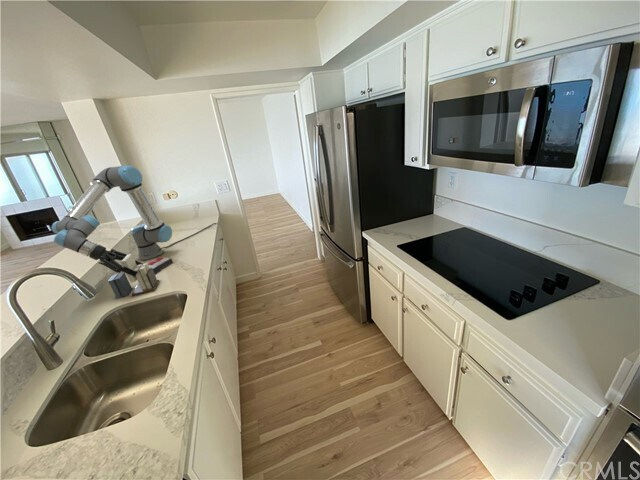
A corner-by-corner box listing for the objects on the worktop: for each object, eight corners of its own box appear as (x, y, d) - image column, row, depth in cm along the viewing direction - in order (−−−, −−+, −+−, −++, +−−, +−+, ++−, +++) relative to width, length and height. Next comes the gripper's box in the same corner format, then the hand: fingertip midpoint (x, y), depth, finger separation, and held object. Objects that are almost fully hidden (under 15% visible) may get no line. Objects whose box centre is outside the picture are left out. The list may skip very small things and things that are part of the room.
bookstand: (139, 285, 153) (129, 265, 148) (159, 281, 155) (150, 260, 150) (132, 296, 143) (121, 274, 138) (154, 291, 146) (144, 269, 140)
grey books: (121, 291, 150) (113, 274, 145) (132, 288, 151) (124, 272, 146) (116, 298, 143) (107, 281, 139) (127, 295, 145) (119, 278, 140)
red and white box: (171, 257, 176) (152, 267, 163) (173, 263, 177) (154, 274, 164) (158, 257, 179) (139, 267, 166) (160, 262, 181) (141, 273, 167)
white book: (136, 274, 150) (127, 254, 144) (140, 273, 150) (131, 253, 145) (130, 282, 141) (120, 261, 136) (135, 281, 142) (125, 260, 137)
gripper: (99, 248, 145) (142, 266, 155) (78, 265, 126) (128, 285, 135) (106, 237, 144) (149, 256, 154) (85, 253, 125) (135, 274, 134)
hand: (139, 270), depth 145 cm, fingers closed on white book, 9 cm apart
